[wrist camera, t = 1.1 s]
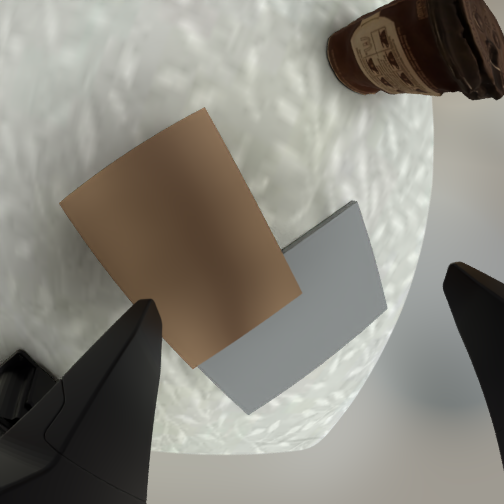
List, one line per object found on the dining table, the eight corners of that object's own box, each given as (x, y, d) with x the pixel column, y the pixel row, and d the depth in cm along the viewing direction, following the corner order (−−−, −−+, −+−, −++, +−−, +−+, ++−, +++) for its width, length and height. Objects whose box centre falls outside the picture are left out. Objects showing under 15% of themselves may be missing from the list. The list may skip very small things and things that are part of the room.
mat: (246, 411, 27) (248, 415, 26) (165, 329, 21) (167, 333, 21) (383, 306, 30) (387, 308, 29) (352, 200, 24) (357, 201, 23)
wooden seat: (171, 303, 21) (192, 369, 14) (87, 185, 16) (58, 203, 10) (249, 250, 22) (302, 293, 15) (178, 125, 17) (204, 107, 11)
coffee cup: (362, 129, 22) (506, 137, 11) (294, 55, 18) (441, 2, 7) (400, 70, 22) (520, 62, 10) (345, 4, 18) (466, -40, 7)
